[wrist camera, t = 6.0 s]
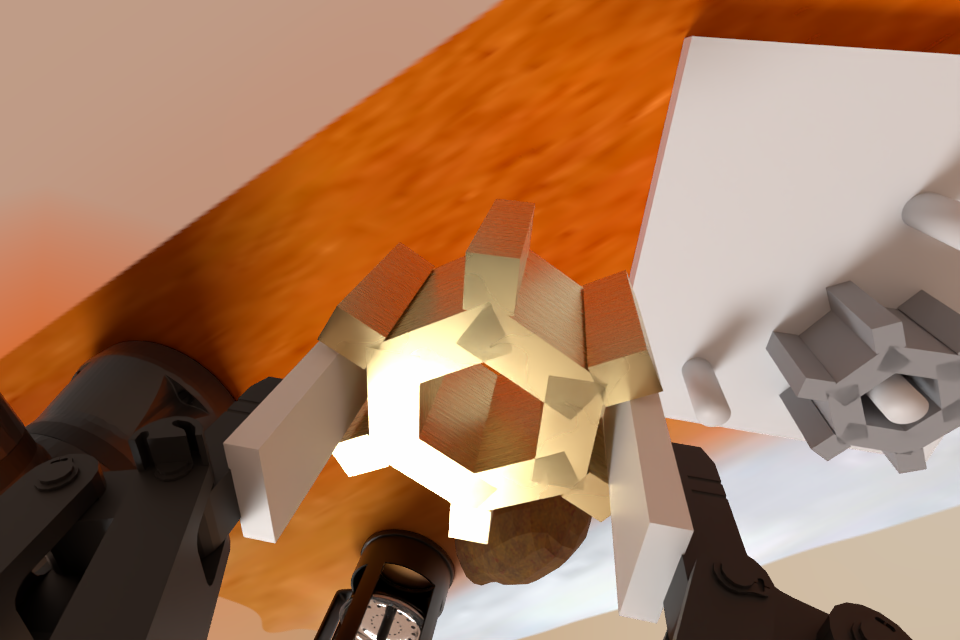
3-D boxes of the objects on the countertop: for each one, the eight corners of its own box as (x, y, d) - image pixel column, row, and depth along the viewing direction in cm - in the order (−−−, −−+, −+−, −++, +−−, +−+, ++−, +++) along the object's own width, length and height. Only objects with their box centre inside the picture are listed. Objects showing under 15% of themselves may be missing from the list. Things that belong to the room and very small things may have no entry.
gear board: (603, 390, 35) (607, 463, 29) (684, 38, 25) (720, 27, 19) (908, 440, 33) (989, 533, 26) (1137, 70, 22) (1366, 71, 16)
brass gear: (444, 452, 20) (409, 559, 16) (332, 272, 17) (251, 341, 13) (671, 391, 17) (705, 501, 13) (583, 159, 14) (589, 200, 10)
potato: (433, 465, 42) (400, 554, 34) (556, 415, 37) (549, 505, 30) (488, 531, 44) (468, 627, 37) (609, 492, 40) (616, 593, 32)
